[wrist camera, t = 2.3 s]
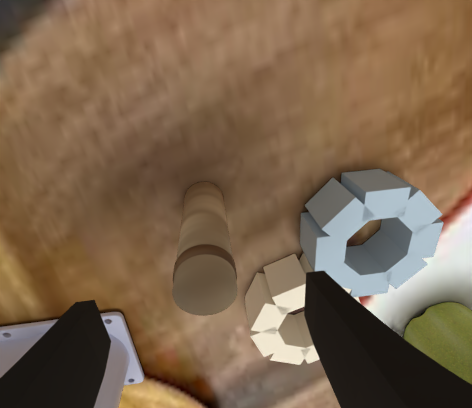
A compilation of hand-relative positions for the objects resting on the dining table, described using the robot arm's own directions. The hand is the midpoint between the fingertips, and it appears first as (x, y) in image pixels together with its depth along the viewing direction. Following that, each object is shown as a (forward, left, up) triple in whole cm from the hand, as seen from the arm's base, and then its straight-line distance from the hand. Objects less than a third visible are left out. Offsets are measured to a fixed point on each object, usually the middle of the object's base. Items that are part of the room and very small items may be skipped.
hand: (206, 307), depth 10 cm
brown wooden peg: (0, 0, -9) cm, 9 cm away
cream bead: (+6, -9, -9) cm, 14 cm away
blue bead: (+10, -3, -9) cm, 14 cm away
